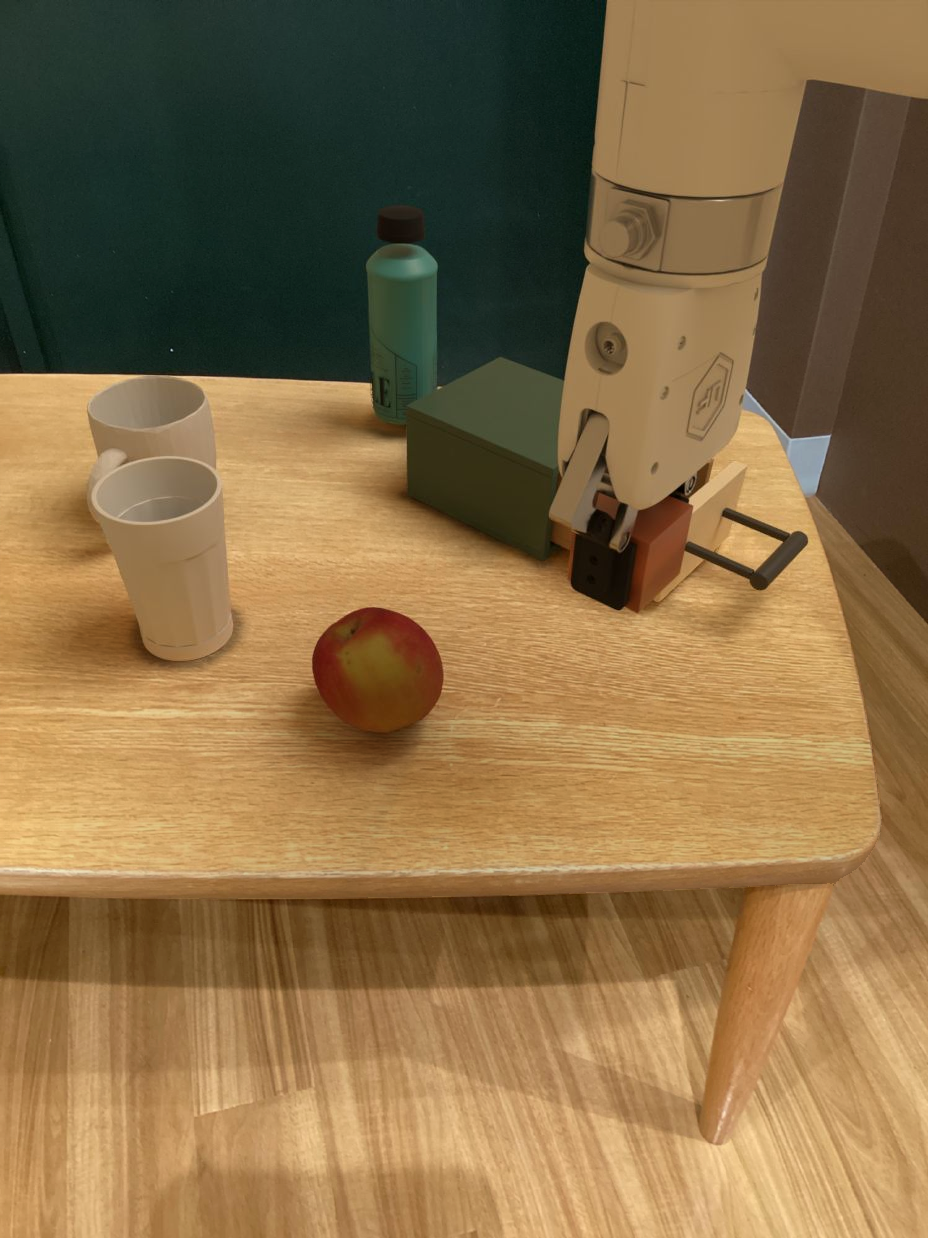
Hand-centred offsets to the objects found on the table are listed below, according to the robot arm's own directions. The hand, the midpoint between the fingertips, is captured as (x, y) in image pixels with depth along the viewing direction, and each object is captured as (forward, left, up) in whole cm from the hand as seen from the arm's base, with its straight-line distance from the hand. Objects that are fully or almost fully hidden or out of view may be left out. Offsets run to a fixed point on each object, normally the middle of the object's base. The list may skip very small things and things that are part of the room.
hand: (625, 571), depth 49 cm
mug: (+41, +3, -15) cm, 44 cm away
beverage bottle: (+37, -23, -15) cm, 46 cm away
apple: (+12, +7, -15) cm, 20 cm away
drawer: (+7, -20, -13) cm, 25 cm away
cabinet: (+21, -20, -14) cm, 33 cm away
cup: (+28, +10, -15) cm, 33 cm away
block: (0, 0, 0) cm, 0 cm away
